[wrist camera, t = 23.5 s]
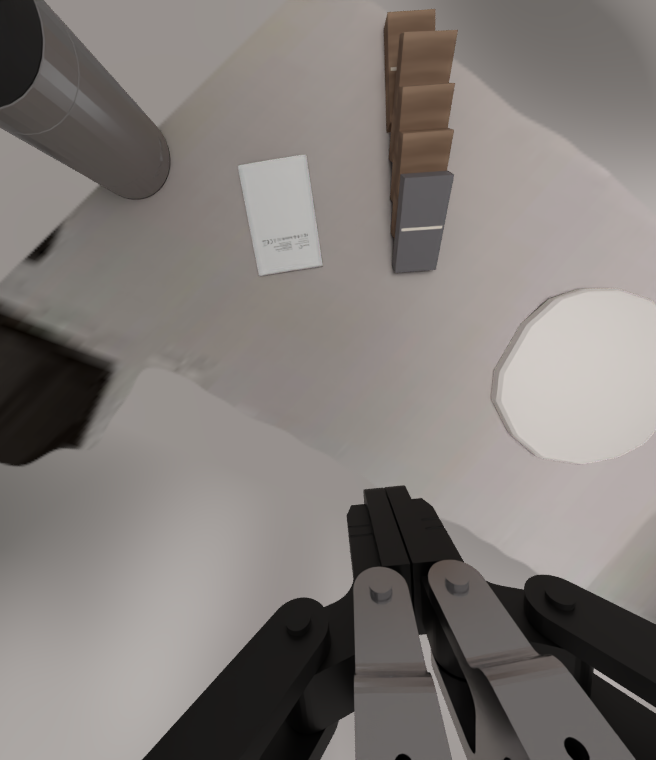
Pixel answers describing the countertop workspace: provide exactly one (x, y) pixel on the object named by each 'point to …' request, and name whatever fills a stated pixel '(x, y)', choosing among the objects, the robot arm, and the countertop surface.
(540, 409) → the decorative plate
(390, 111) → the domino
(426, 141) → the domino
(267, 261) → the external hard drive
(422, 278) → the countertop surface
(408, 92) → the domino
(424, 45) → the domino
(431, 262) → the domino
